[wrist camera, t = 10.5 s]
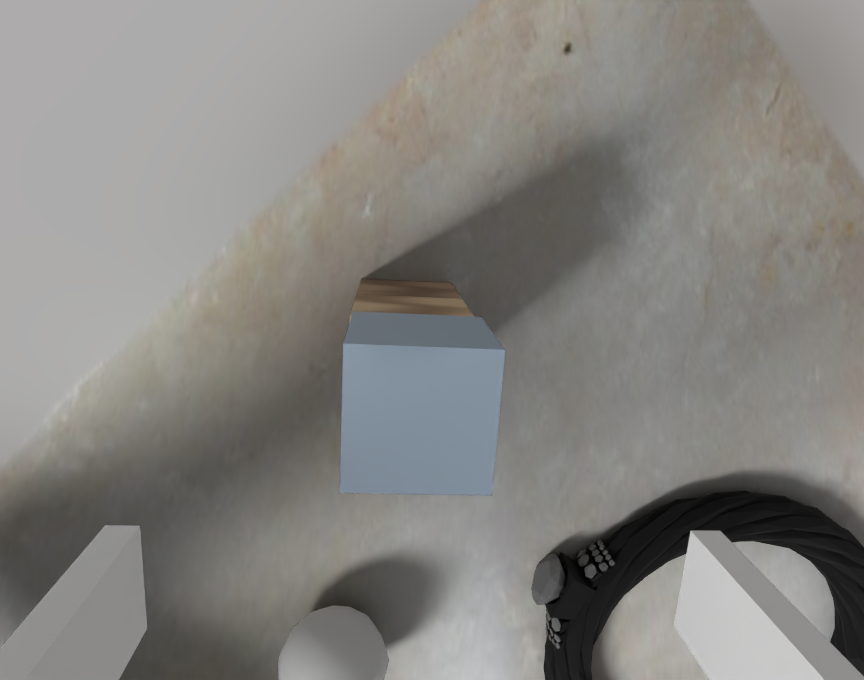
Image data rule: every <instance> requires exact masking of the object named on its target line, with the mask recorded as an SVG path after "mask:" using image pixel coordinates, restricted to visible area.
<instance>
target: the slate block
mask: <svg viewBox="0 0 864 680" xmlns="http://www.w3.org/2000/svg"><path fill="white" fill-rule="evenodd" d="M504 359H505V349H504V347H503V346H502V345H501V343H500V342H499V340H498V339H497V338H496V336H495V335H494V334H493V332H492V331H491V330H490V328H489V327H488V325H487V324H486V323H485V321H484V320H483V319H482V317H474V316H450V315H427V314H404V313H381V312H358V311H353V313H352V317H351V320H350V323H349V326H348V329H347V333H346V336H345V339H344V342H343V373H342V417H341V462H340V493H379V494H434V495H490V496H492V491H493V480H494V469H495V458H496V447H497V436H498V425H499V414H500V403H501V392H502V381H503V370H504Z"/></svg>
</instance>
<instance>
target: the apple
mask: <svg viewBox="0 0 864 680" xmlns="http://www.w3.org/2000/svg"><path fill="white" fill-rule="evenodd" d="M388 662H389V658H388V655H387V651H386V648H385V645H384V642H383V638H382V636H381V634H380V633H379V631H378V630H377V628H376V627H375V625H374V624H373V622H372V621H371V620H370V618H369V617H368V615H366V614H364V613H362V612H360V611H358V610H355V609H353V608H351V607H348V606H335V605H333V606H329V607H326V608H322V609H319V610H316V611H313V612H311V613H310V614H309V615H308V616H306V617H305V618H304V619H303V620H301V621H300V622H299V623H298V624H297V625H296V626H294V627H293V629H292V631H291V633H290V634H289V636H288V638H287V640H286V642H285V644H284V646H283V648H282V650H281V652H280V656H279V660H278V670H279V680H384V677H385V674H386V670H387V666H388Z"/></svg>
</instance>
